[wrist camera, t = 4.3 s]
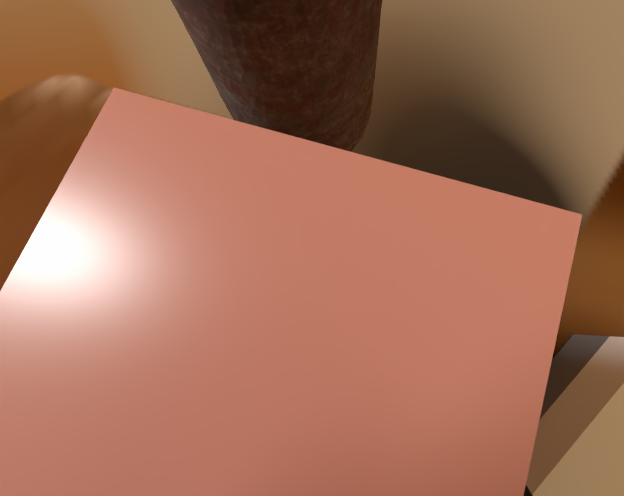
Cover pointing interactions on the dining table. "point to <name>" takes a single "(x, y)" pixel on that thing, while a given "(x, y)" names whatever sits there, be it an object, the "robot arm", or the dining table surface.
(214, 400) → the top brick
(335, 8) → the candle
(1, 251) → the dining table surface
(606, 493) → the base block
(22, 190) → the dining table surface
